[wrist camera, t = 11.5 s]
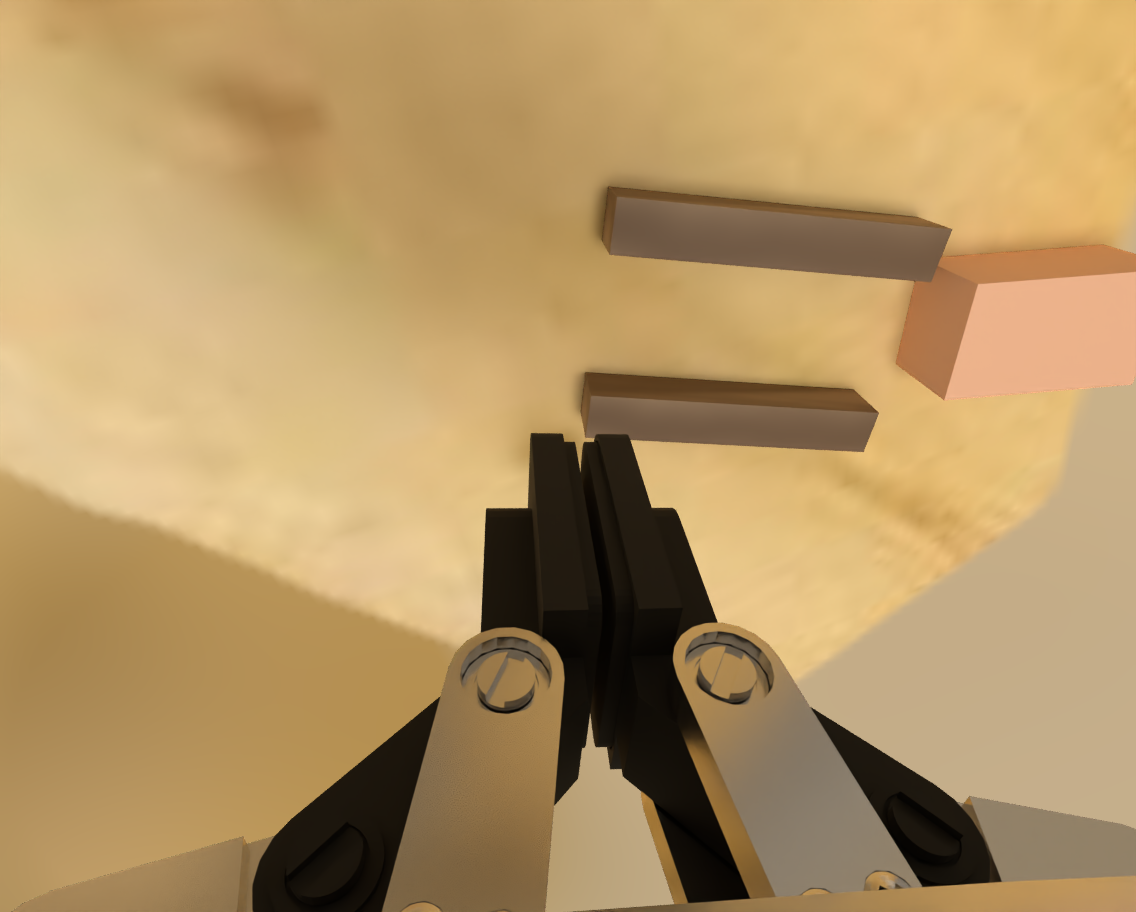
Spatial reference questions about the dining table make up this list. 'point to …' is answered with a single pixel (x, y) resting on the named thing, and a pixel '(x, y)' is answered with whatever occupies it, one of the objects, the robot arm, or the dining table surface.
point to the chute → (763, 242)
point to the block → (1023, 323)
